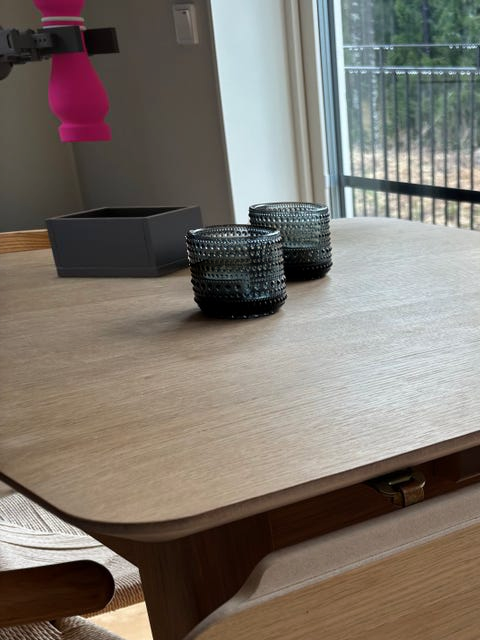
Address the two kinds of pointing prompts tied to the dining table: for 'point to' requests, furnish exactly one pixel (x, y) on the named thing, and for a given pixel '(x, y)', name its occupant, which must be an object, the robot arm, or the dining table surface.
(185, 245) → the basin
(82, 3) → the pepper mill
